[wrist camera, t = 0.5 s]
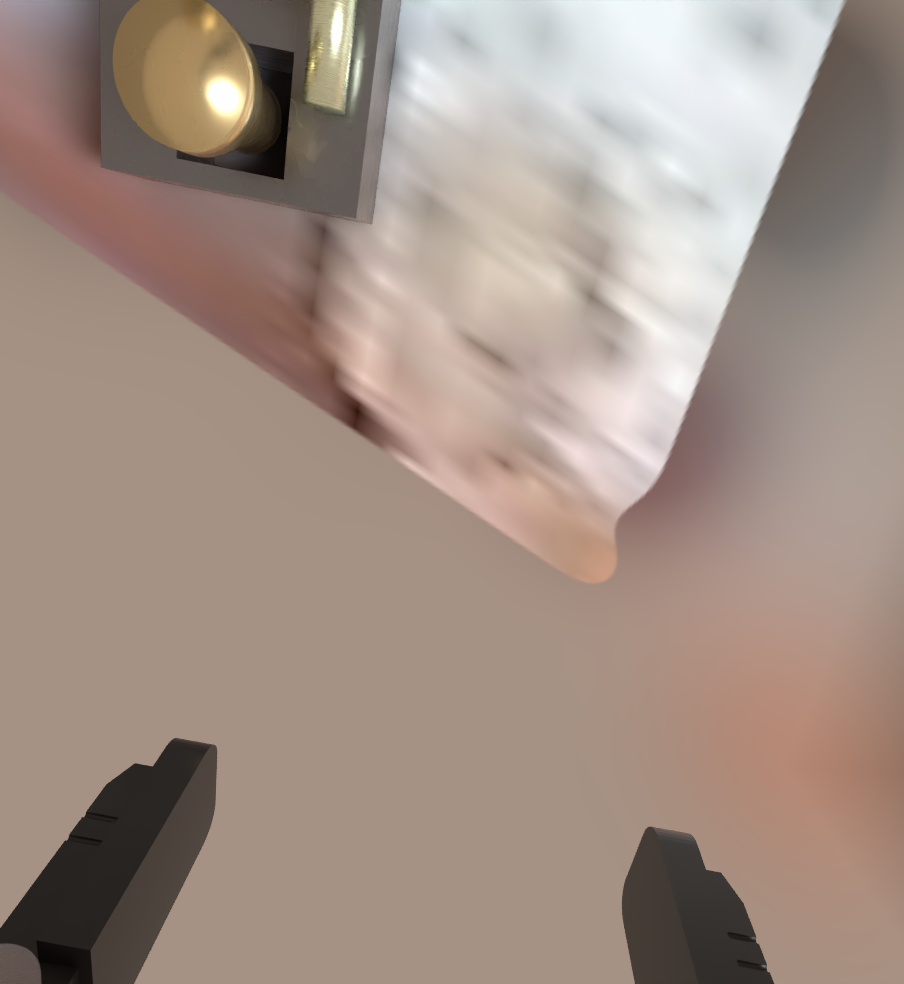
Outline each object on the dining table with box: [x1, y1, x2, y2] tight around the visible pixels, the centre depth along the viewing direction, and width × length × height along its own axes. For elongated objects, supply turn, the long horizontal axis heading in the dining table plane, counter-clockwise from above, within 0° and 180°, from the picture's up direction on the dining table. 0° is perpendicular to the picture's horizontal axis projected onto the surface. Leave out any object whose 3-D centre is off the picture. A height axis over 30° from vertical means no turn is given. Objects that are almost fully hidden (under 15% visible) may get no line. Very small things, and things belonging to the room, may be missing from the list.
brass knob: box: [113, 0, 282, 157], centre depth 26 cm, size 5×5×7 cm
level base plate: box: [99, 0, 401, 224], centre depth 27 cm, size 15×12×6 cm
